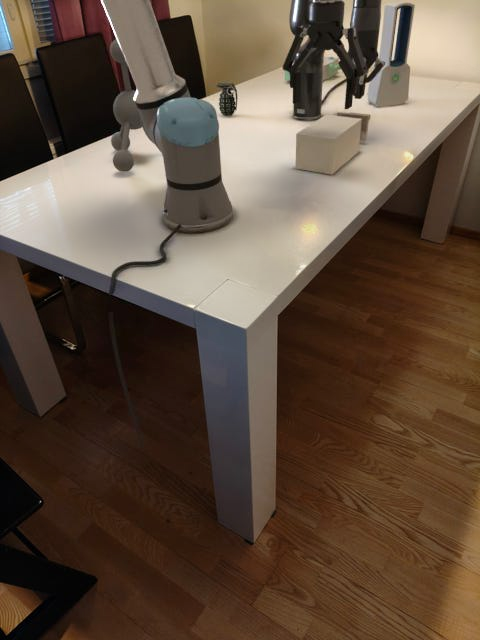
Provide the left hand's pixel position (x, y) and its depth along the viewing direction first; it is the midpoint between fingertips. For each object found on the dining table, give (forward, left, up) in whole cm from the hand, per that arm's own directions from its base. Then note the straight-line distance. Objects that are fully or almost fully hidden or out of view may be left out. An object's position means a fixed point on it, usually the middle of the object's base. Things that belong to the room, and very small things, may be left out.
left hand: (321, 105), depth 118 cm
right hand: (+25, -2, -4) cm, 25 cm away
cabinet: (+6, 0, -16) cm, 17 cm away
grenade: (+35, +46, -16) cm, 60 cm away
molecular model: (-10, +48, -16) cm, 51 cm away
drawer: (+17, -1, -14) cm, 22 cm away
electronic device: (+66, 0, -16) cm, 68 cm away
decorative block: (+96, +40, -16) cm, 105 cm away
